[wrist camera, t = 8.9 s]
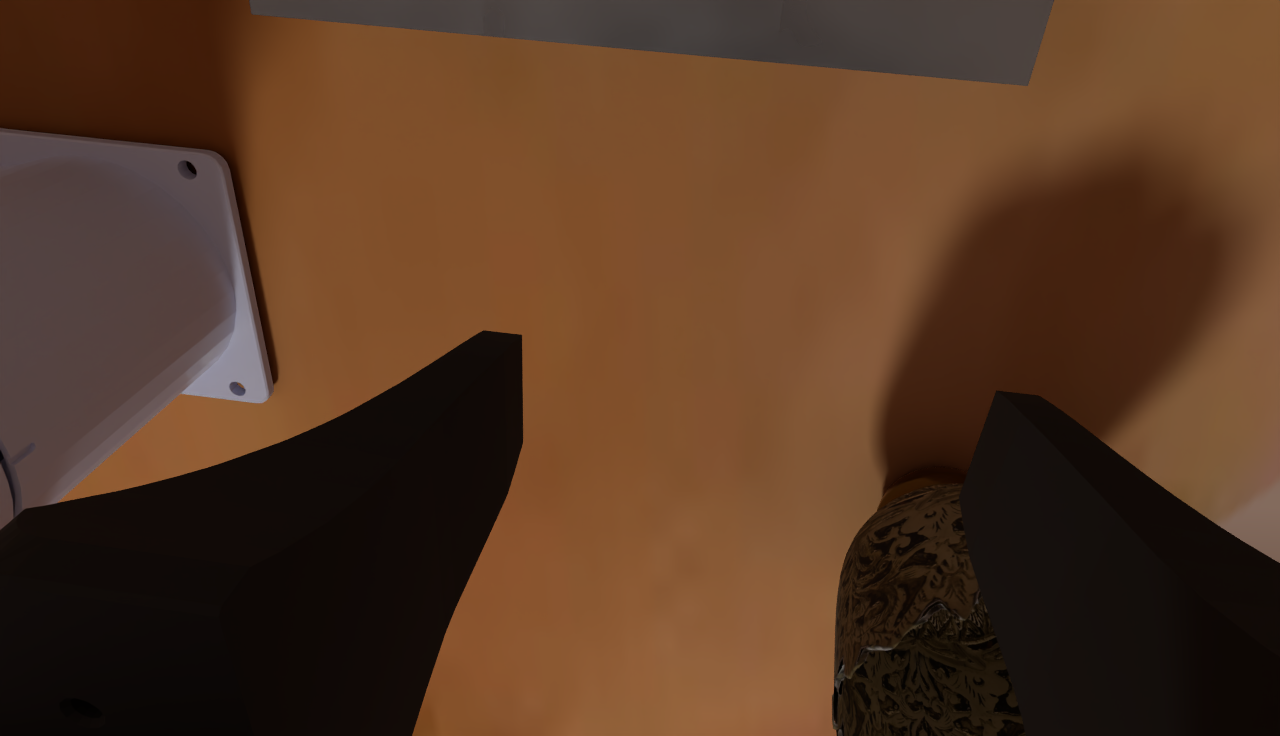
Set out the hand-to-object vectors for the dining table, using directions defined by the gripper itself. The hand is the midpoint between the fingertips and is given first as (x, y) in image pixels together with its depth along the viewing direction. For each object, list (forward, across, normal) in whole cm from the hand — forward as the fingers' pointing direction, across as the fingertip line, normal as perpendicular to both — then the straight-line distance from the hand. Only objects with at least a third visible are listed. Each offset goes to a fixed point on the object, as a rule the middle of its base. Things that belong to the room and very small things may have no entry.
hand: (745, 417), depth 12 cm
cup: (+10, -7, +9) cm, 15 cm away
